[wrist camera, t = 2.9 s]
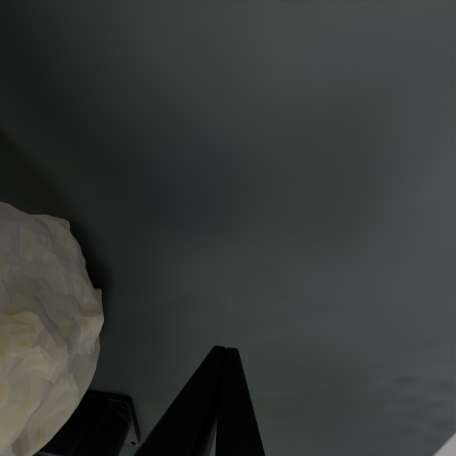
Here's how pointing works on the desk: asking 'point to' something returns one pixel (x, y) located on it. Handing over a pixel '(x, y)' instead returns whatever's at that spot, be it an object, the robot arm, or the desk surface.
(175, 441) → the robot arm
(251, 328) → the desk surface
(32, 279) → the pale lumpy rock
